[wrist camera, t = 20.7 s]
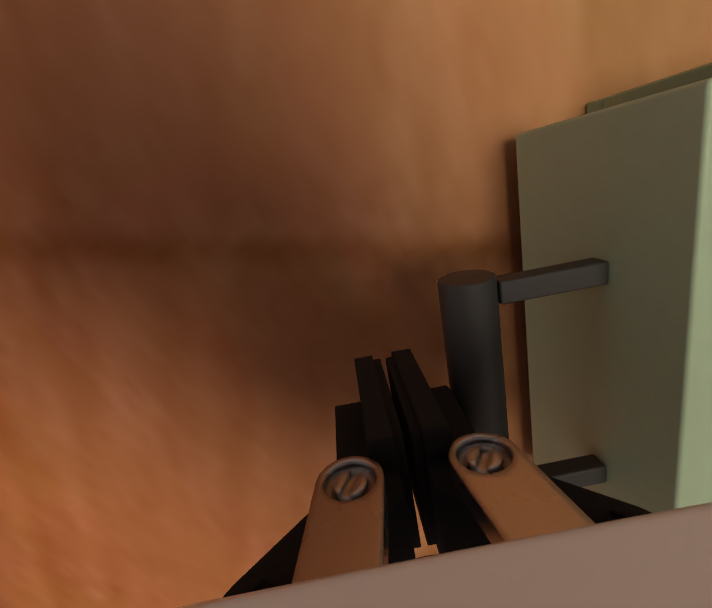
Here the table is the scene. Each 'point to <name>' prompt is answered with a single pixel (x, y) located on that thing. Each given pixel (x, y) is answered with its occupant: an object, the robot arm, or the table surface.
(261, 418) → the table surface
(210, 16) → the table surface
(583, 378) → the drawer
